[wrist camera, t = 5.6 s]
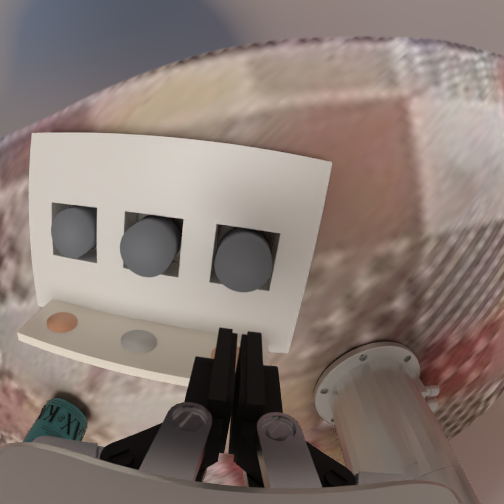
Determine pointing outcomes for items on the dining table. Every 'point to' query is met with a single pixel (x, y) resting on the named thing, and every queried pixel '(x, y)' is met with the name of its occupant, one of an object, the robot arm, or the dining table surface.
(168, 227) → the button middle
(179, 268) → the button panel
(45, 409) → the beverage bottle
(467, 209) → the dining table surface
